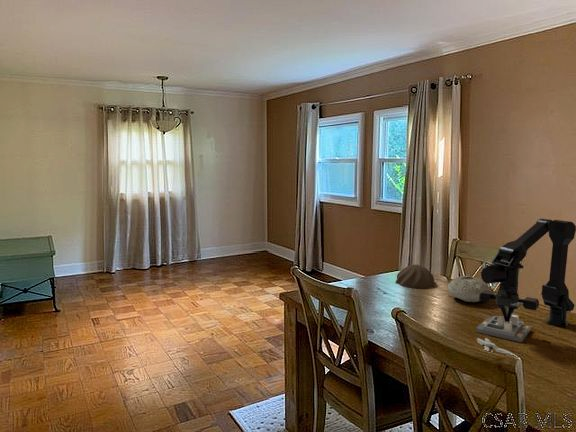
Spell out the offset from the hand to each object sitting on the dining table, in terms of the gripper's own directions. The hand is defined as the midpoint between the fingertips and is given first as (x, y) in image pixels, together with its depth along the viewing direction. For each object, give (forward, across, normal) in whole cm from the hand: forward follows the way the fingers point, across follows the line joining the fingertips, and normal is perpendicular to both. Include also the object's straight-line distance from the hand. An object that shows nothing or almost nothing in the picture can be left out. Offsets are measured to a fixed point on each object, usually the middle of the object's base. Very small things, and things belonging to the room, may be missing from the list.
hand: (507, 322), depth 158 cm
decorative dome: (+4, -53, +42) cm, 68 cm away
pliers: (+4, 0, -20) cm, 20 cm away
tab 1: (+2, -2, 0) cm, 3 cm away
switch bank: (+4, -1, 0) cm, 4 cm away
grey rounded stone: (+4, -23, +30) cm, 38 cm away
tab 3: (+2, +1, +5) cm, 5 cm away
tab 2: (+2, +1, -4) cm, 5 cm away
